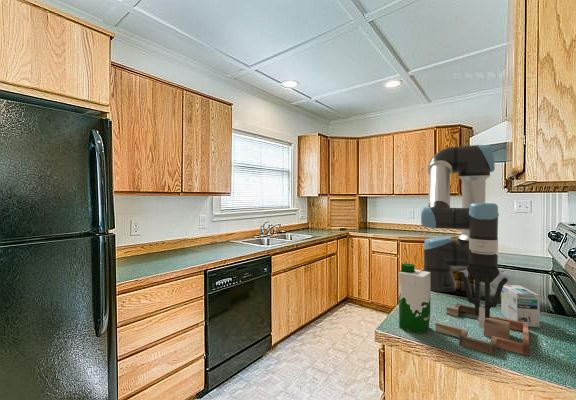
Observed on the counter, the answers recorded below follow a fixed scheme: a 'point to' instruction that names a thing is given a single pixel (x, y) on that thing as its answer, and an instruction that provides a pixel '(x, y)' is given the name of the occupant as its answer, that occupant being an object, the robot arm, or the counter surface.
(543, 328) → the counter surface
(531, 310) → the light bulb box
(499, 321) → the block
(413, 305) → the milk carton
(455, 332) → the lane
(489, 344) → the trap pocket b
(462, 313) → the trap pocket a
